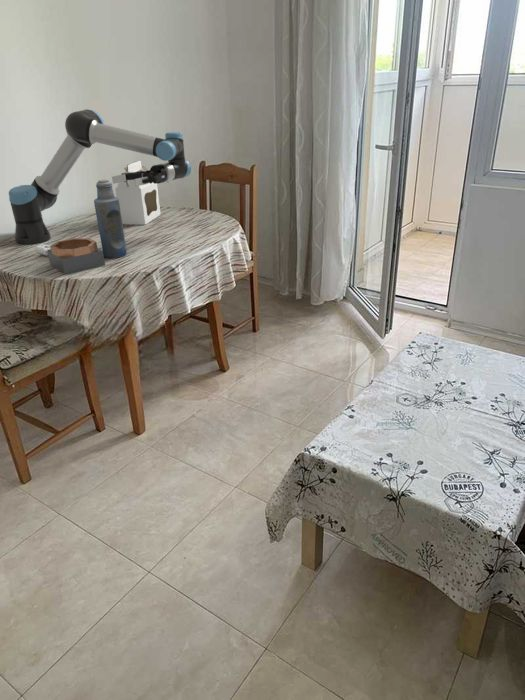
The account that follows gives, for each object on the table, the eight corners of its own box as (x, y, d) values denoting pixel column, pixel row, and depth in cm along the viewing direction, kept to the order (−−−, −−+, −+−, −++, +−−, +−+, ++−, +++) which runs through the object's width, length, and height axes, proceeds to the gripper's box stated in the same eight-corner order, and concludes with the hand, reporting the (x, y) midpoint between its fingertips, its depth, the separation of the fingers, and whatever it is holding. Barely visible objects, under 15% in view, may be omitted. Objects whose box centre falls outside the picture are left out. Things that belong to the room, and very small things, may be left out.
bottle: (109, 260, 213) (97, 183, 199) (99, 254, 220) (86, 180, 206) (131, 255, 218) (120, 180, 204) (120, 249, 225) (109, 177, 211)
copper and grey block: (50, 264, 210) (45, 243, 206) (88, 256, 218) (85, 236, 214) (65, 274, 198) (60, 252, 194) (105, 265, 207) (101, 244, 203)
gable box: (137, 214, 284) (130, 159, 271) (160, 214, 281) (154, 159, 268) (120, 224, 264) (111, 166, 251) (145, 225, 262) (137, 166, 249)
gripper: (183, 184, 223) (146, 193, 208) (143, 180, 236) (105, 188, 221) (181, 166, 220) (143, 174, 205) (140, 162, 233) (102, 169, 218)
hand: (123, 181), depth 213 cm, fingers open, 13 cm apart
